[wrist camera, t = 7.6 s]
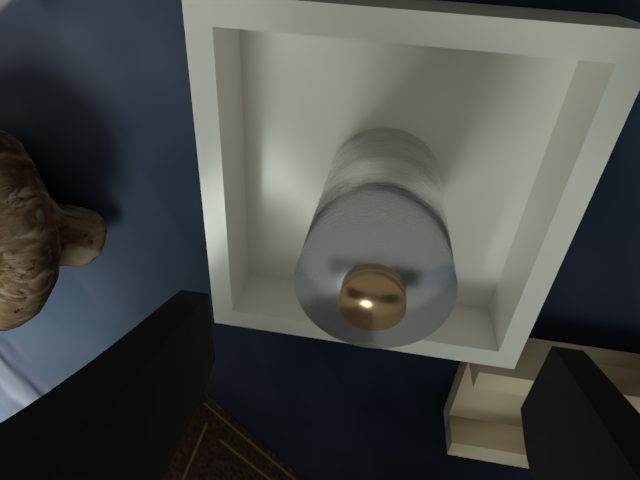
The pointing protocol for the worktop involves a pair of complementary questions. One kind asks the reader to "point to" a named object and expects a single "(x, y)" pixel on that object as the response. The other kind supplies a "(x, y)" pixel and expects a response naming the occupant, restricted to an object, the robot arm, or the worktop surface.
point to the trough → (516, 400)
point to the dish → (417, 119)
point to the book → (223, 451)
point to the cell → (379, 245)
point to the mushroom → (36, 236)
